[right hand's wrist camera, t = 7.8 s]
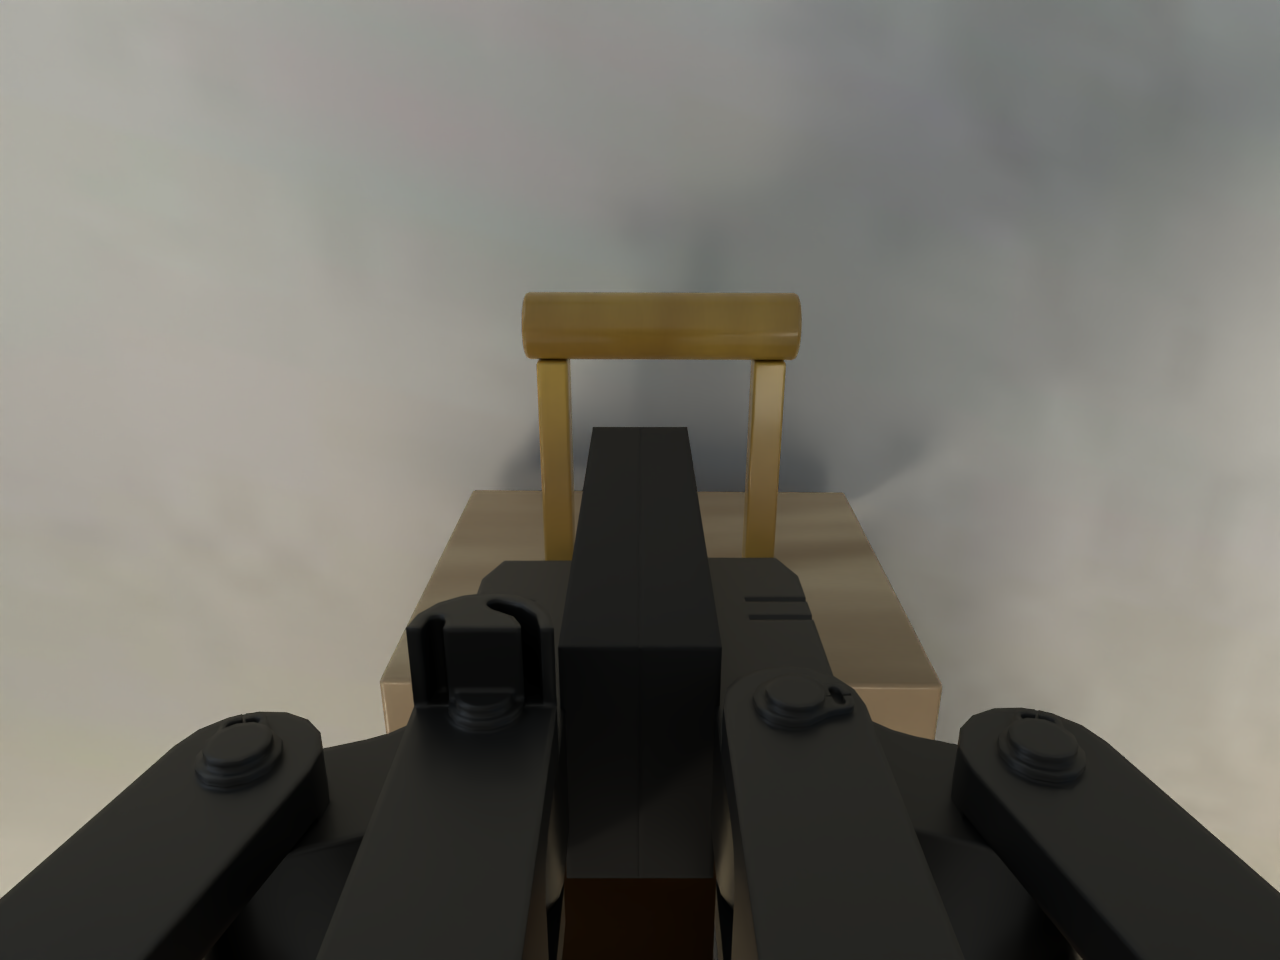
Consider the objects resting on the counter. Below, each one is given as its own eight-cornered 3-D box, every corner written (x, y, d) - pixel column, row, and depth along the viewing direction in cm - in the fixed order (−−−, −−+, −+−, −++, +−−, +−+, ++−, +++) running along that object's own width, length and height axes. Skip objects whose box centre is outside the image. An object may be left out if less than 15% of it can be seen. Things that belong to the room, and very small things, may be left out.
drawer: (456, 261, 21) (336, 344, 13) (865, 262, 20) (995, 347, 13) (511, 1020, 30) (460, 1340, 22) (795, 1024, 29) (846, 1347, 22)
